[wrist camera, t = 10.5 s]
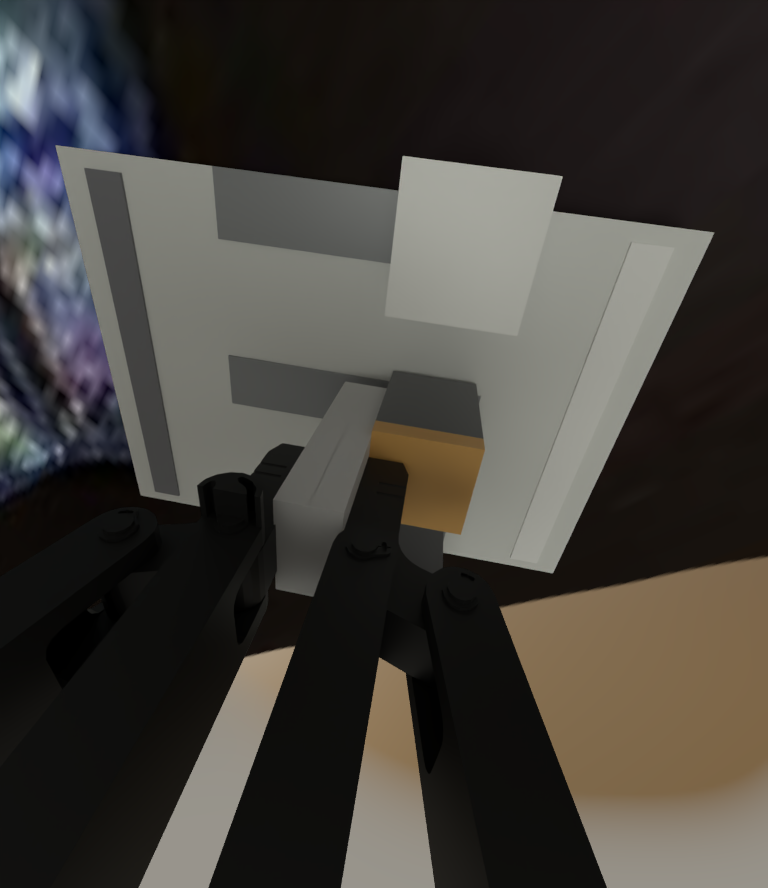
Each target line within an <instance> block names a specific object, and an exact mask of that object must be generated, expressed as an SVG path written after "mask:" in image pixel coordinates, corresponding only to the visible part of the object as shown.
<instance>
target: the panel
mask: <svg viewBox="0 0 768 888" xmlns="http://www.w3.org/2000/svg"><path fill="white" fill-rule="evenodd" d="M55 146H56V150H57V154H58V158H59V162H60V166H61V170H62V174H63V178H64V183H65V187H66V191H67V195H68V199H69V203H70V207H71V211H72V215H73V219H74V224H75V228H76V232H77V236H78V240H79V244H80V248H81V252H82V256H83V260H84V265H85V269H86V273H87V277H88V281H89V285H90V289H91V293H92V297H93V301H94V306H95V310H96V314H97V318H98V322H99V326H100V330H101V334H102V338H103V342H104V347H105V351H106V355H107V359H108V363H109V367H110V371H111V375H112V379H113V383H114V388H115V392H116V396H117V400H118V404H119V408H120V412H121V416H122V420H123V424H124V429H125V433H126V437H127V441H128V445H129V449H130V453H131V457H132V461H133V465H134V470H135V474H136V478H137V482H138V486H139V490H140V494H141V495H142V496H147V497H153V498H158V499H163V500H168V501H174V502H179V503H184V504H190V505H195V506H200V503H199V496H198V490H197V485H198V484H199V483H201V482H202V481H203V480H205V479H206V478H209V477H211V476H214V475H216V474H221V473H228V472H237V473H245V474H248V475H251V474H252V473H254V470H255V469H256V467H257V466H258V465H259V464H260V463H261V461H262V459H263V458H264V457H265V455H266V454H267V453H268V451H270V450H271V449H273V448H275V447H277V446H278V445H280V444H282V443H285V444H291V445H297V446H302V447H305V446H306V445H307V443H308V442H309V440H310V438H311V437H312V435H313V433H314V432H315V430H316V428H317V427H318V425H319V424H320V422H321V420H322V419H323V417H324V415H325V414H326V412H327V411H328V409H329V407H330V406H331V404H332V402H333V401H334V399H335V397H336V396H337V394H338V393H339V391H340V389H341V388H342V386H343V384H344V383H345V382H351V383H357V384H364V385H369V386H376V387H382V388H387V387H388V384H389V381H390V378H391V376H392V373H393V371H399V372H405V373H411V374H417V375H423V376H429V377H436V378H442V379H448V380H454V381H460V382H467V383H473V384H476V386H477V394H478V401H479V409H480V416H481V423H482V431H483V438H484V446H485V452H484V455H483V459H482V462H481V466H480V469H479V473H478V476H477V480H476V483H475V487H474V490H473V494H472V497H471V501H470V504H469V508H468V511H467V515H466V518H465V522H464V525H463V529H462V532H461V535H459V534H454V533H448V532H443V553H449V554H454V555H459V556H464V557H470V558H475V559H480V560H486V561H491V562H496V563H501V564H507V565H512V566H517V567H523V568H528V569H533V570H538V571H544V572H549V573H553V572H554V570H555V568H556V565H557V563H558V561H559V559H560V557H561V555H562V553H563V551H564V549H565V546H566V544H567V542H568V540H569V538H570V536H571V534H572V532H573V530H574V527H575V525H576V523H577V521H578V519H579V517H580V515H581V513H582V511H583V508H584V506H585V504H586V502H587V500H588V498H589V496H590V494H591V492H592V490H593V487H594V485H595V483H596V481H597V479H598V477H599V475H600V473H601V471H602V468H603V466H604V464H605V462H606V460H607V458H608V456H609V454H610V452H611V449H612V447H613V445H614V443H615V441H616V439H617V437H618V435H619V433H620V430H621V428H622V426H623V424H624V422H625V420H626V418H627V416H628V414H629V411H630V409H631V407H632V405H633V403H634V401H635V399H636V397H637V395H638V392H639V390H640V388H641V386H642V384H643V382H644V380H645V378H646V376H647V373H648V371H649V369H650V367H651V365H652V363H653V361H654V359H655V357H656V355H657V352H658V350H659V348H660V346H661V344H662V342H663V340H664V338H665V336H666V333H667V331H668V329H669V327H670V325H671V323H672V321H673V319H674V317H675V314H676V312H677V310H678V308H679V306H680V304H681V302H682V300H683V298H684V295H685V293H686V291H687V289H688V287H689V285H690V283H691V281H692V279H693V276H694V274H695V272H696V270H697V268H698V266H699V264H700V262H701V260H702V257H703V255H704V253H705V251H706V249H707V247H708V245H709V243H710V241H711V238H712V236H713V234H714V233H712V232H705V231H697V230H690V229H682V228H675V227H667V226H660V225H652V224H645V223H637V222H630V221H622V220H615V219H607V218H600V217H592V216H584V215H577V214H569V213H562V212H554V211H553V212H552V216H551V219H550V223H549V226H548V230H547V233H546V237H545V240H544V244H543V247H542V251H541V254H540V258H539V261H538V265H537V268H536V272H535V275H534V279H533V282H532V286H531V289H530V293H529V296H528V300H527V303H526V307H525V310H524V314H523V317H522V321H521V324H520V328H519V331H518V335H517V336H512V335H505V334H499V333H492V332H486V331H479V330H473V329H466V328H460V327H453V326H447V325H440V324H434V323H427V322H421V321H414V320H407V319H401V318H394V317H388V316H385V307H386V299H387V290H388V281H389V272H390V263H391V255H392V246H393V237H394V228H395V219H396V210H397V202H398V193H399V191H397V190H389V189H382V188H374V187H367V186H359V185H352V184H344V183H336V182H329V181H321V180H314V179H306V178H299V177H291V176H284V175H276V174H269V173H261V172H254V171H246V170H239V169H231V168H224V167H216V166H208V165H201V164H193V163H185V162H178V161H170V160H163V159H155V158H148V157H140V156H133V155H125V154H118V153H110V152H103V151H95V150H88V149H80V148H73V147H65V146H58V145H55Z"/></svg>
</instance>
